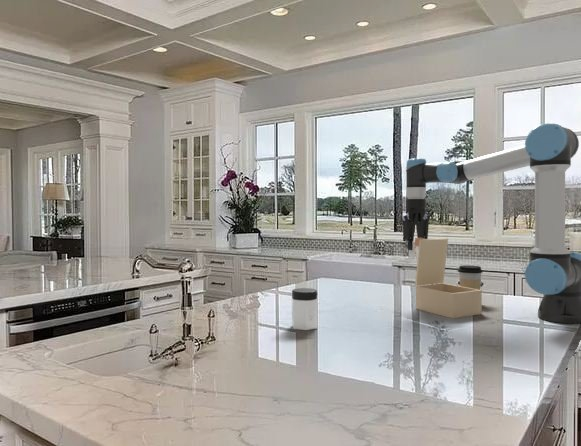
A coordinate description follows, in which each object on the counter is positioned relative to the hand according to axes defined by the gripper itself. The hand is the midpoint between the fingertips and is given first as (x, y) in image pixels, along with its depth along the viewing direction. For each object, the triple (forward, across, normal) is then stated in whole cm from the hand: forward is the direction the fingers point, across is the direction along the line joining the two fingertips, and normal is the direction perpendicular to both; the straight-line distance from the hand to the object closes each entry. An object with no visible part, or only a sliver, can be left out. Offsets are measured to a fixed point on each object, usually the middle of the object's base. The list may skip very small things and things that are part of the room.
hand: (415, 258), depth 193 cm
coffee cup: (+19, -19, +10) cm, 29 cm away
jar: (+19, +56, +10) cm, 60 cm away
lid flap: (+1, 0, +9) cm, 9 cm away
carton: (+18, 0, +17) cm, 25 cm away
